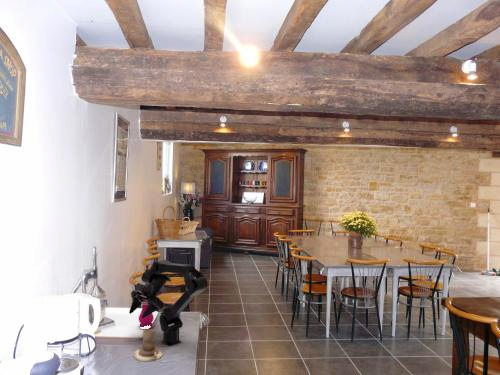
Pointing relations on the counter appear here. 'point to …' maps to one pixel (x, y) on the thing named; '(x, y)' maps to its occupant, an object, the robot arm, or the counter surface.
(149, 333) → the brown flanged knob
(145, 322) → the pepper mill
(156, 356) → the plate
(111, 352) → the counter surface
